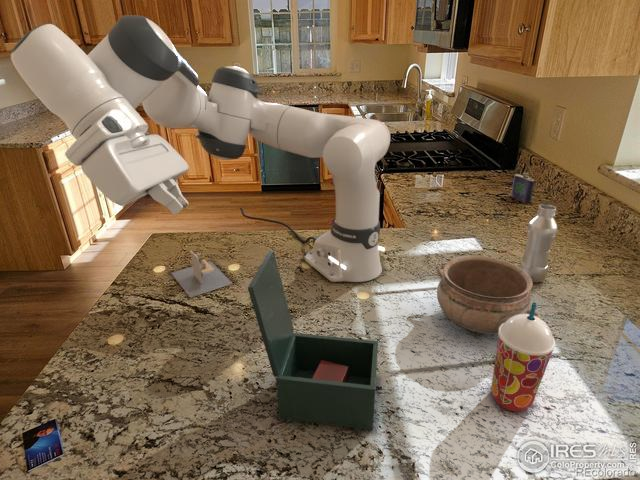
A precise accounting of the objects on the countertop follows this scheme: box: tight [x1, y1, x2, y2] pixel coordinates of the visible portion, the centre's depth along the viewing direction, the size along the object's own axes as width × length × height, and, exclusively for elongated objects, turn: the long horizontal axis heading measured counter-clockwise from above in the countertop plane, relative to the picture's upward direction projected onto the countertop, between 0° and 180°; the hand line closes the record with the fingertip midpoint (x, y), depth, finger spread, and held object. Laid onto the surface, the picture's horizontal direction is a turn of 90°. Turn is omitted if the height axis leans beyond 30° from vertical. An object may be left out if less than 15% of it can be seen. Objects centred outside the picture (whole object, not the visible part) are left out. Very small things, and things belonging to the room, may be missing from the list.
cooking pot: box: [436, 255, 542, 335], centre depth 91 cm, size 25×19×12 cm
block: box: [312, 360, 348, 383], centre depth 73 cm, size 5×5×5 cm
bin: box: [275, 332, 379, 431], centre depth 73 cm, size 16×12×9 cm
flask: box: [509, 172, 535, 205], centre depth 160 cm, size 9×3×11 cm, turn 21°
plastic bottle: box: [518, 204, 558, 283], centre depth 106 cm, size 6×7×20 cm
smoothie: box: [490, 301, 556, 413], centre depth 70 cm, size 8×8×20 cm
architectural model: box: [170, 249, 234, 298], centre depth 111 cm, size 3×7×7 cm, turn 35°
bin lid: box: [247, 250, 295, 377], centre depth 69 cm, size 16×12×1 cm
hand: (182, 209), depth 63 cm, fingers closed
